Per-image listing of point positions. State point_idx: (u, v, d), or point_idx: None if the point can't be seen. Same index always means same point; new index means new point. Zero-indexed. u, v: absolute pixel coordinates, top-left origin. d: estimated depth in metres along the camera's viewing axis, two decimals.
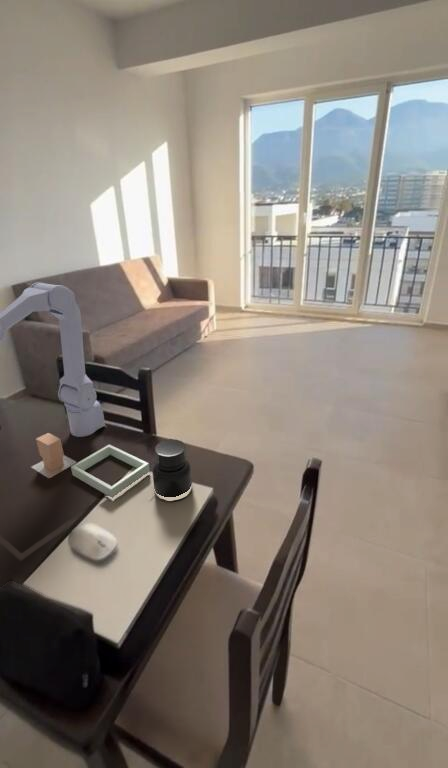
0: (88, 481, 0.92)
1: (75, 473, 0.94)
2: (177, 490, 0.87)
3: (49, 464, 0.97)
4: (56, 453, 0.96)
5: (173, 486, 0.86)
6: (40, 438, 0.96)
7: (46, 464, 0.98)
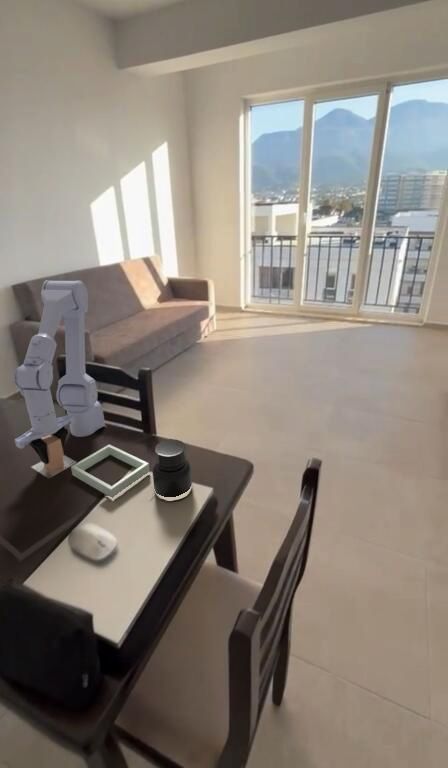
0: (88, 481, 0.92)
1: (75, 473, 0.94)
2: (177, 490, 0.87)
3: (49, 464, 0.97)
4: (56, 453, 0.96)
5: (173, 486, 0.86)
6: None
7: (46, 464, 0.98)
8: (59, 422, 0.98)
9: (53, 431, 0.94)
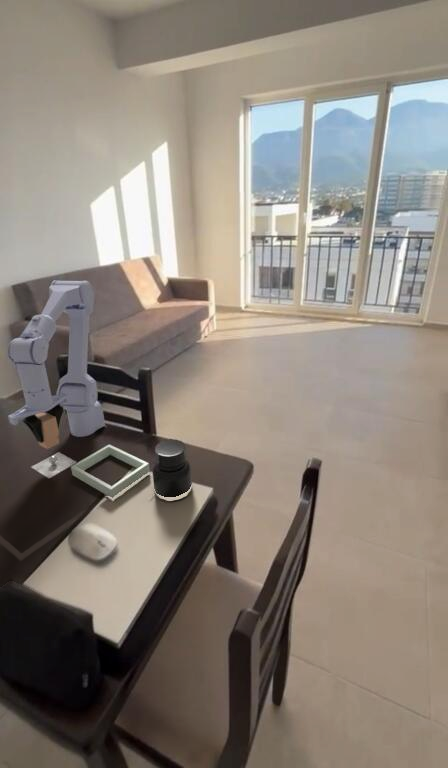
0: (88, 481, 0.92)
1: (75, 473, 0.94)
2: (177, 490, 0.87)
3: (44, 443, 0.95)
4: (51, 431, 0.94)
5: (173, 486, 0.86)
6: None
7: (41, 443, 0.96)
8: (54, 400, 0.95)
9: (48, 408, 0.91)
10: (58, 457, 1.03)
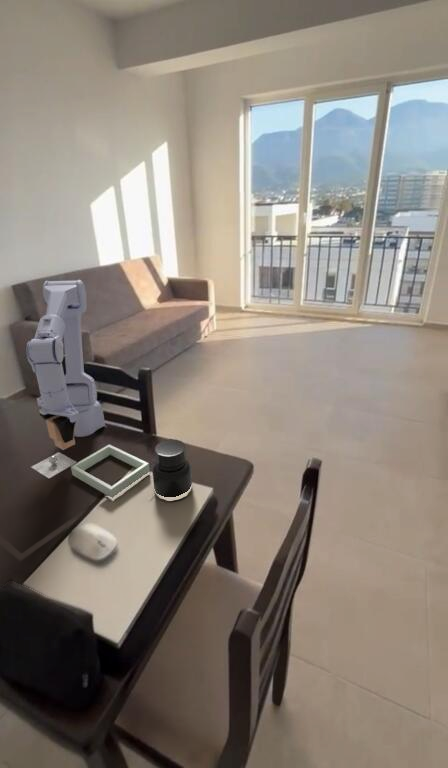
0: (88, 481, 0.92)
1: (75, 473, 0.94)
2: (177, 490, 0.87)
3: None
4: None
5: (173, 486, 0.86)
6: None
7: (67, 444, 0.95)
8: None
9: None
10: (58, 457, 1.03)
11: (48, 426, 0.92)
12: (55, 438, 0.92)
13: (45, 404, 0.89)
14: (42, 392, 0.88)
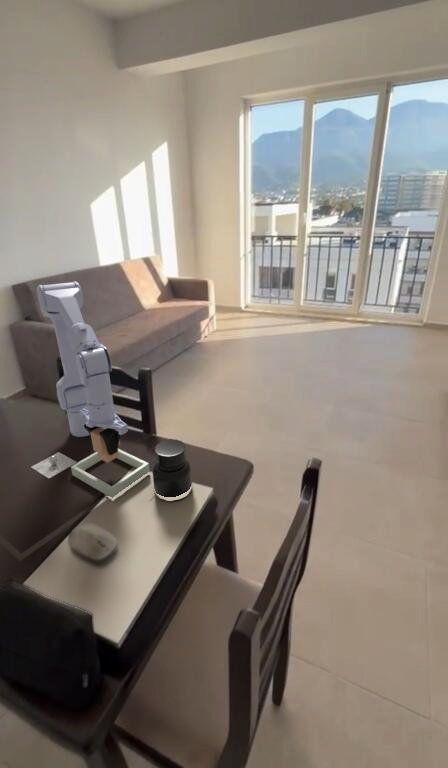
0: (88, 481, 0.92)
1: (75, 473, 0.94)
2: (177, 490, 0.87)
3: None
4: None
5: (173, 486, 0.86)
6: None
7: (111, 456, 0.93)
8: None
9: None
10: (58, 457, 1.03)
11: (93, 438, 0.90)
12: (100, 451, 0.90)
13: (92, 417, 0.87)
14: (90, 404, 0.85)
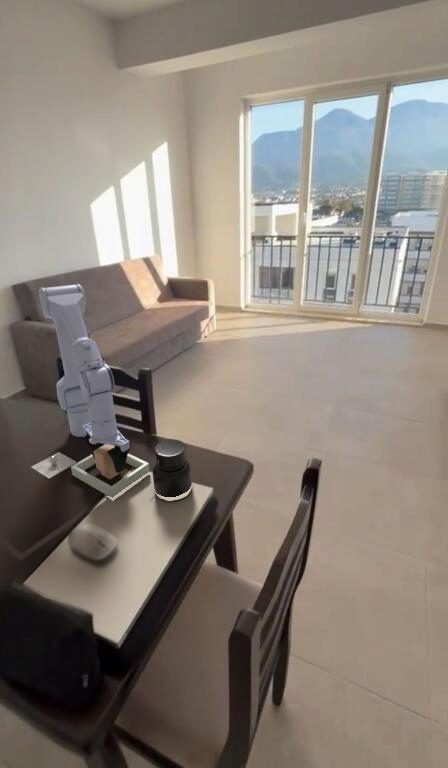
0: (88, 481, 0.92)
1: (75, 473, 0.94)
2: (177, 490, 0.87)
3: None
4: None
5: (173, 486, 0.86)
6: (104, 452, 0.91)
7: (113, 474, 0.95)
8: None
9: None
10: (58, 457, 1.03)
11: (96, 457, 0.92)
12: (103, 469, 0.92)
13: (95, 433, 0.88)
14: (93, 422, 0.87)
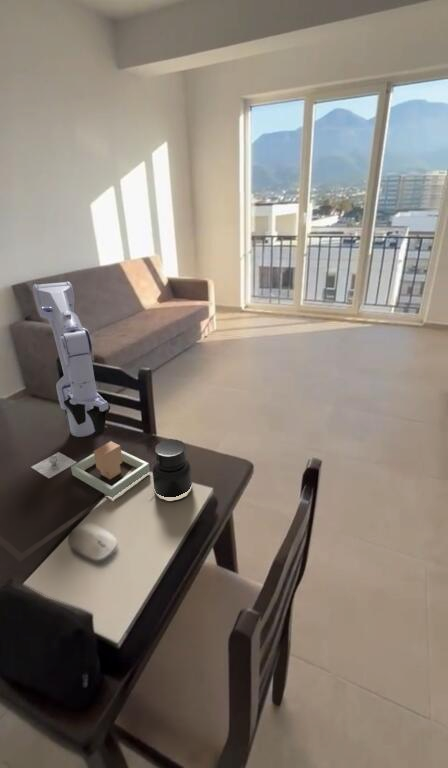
0: (88, 481, 0.92)
1: (75, 473, 0.94)
2: (177, 490, 0.87)
3: (118, 469, 0.96)
4: None
5: (173, 486, 0.86)
6: (104, 452, 0.91)
7: (113, 474, 0.95)
8: None
9: None
10: (58, 457, 1.03)
11: (96, 457, 0.92)
12: (103, 469, 0.92)
13: (75, 394, 0.93)
14: (73, 383, 0.92)
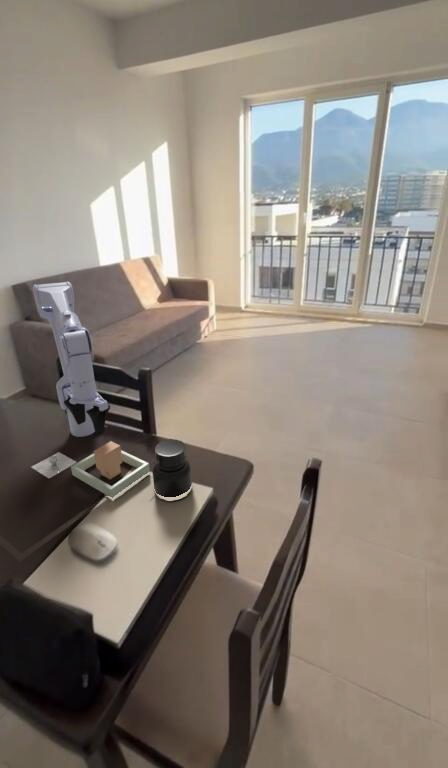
0: (88, 481, 0.92)
1: (75, 473, 0.94)
2: (177, 490, 0.87)
3: (118, 469, 0.96)
4: None
5: (173, 486, 0.86)
6: (104, 452, 0.91)
7: (113, 474, 0.95)
8: None
9: None
10: (58, 457, 1.03)
11: (96, 457, 0.92)
12: (103, 469, 0.92)
13: (75, 394, 0.93)
14: (72, 382, 0.92)
